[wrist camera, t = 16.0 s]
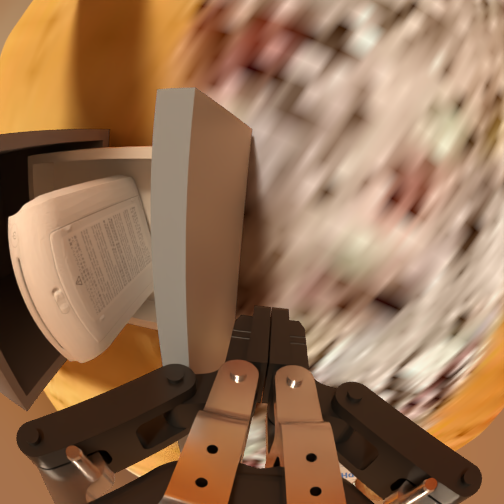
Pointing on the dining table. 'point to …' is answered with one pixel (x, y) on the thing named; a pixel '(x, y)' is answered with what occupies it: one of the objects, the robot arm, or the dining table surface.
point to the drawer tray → (178, 218)
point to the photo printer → (83, 262)
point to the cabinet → (3, 278)
